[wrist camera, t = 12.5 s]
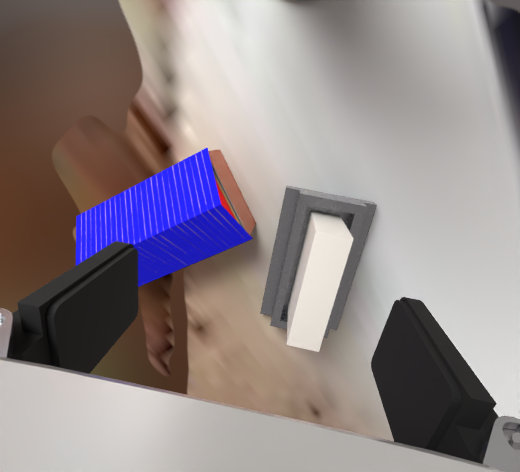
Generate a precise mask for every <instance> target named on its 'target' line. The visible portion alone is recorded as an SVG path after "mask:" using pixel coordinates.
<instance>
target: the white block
mask: <svg viewBox="0 0 520 472" xmlns="http://www.w3.org/2000/svg"><path fill="white" fill-rule="evenodd" d="M352 242H353V237H352V235H351V234H350V232H349V230H348V228H347V227H346V225H345V223H344V222H343V220H342V218H341V217H340V216H335V215H330V214H325V213H320V212H315V211H311V213H310V217H309V221H308V225H307V230H306V234H305V238H304V242H303V246H302V250H301V254H300V258H299V262H298V266H297V270H296V275H295V279H294V283H293V287H292V291H291V295H290V299H289V303H288V321H287V345H290V346H294V347H299V348H303V349H308V350H312V351H317V352H319V350H320V346H321V343H322V340H323V337H324V333H325V330H326V327H327V324H328V320H329V317H330V314H331V311H332V307H333V304H334V301H335V298H336V294H337V291H338V288H339V285H340V281H341V278H342V275H343V272H344V268H345V265H346V262H347V259H348V255H349V252H350V249H351V246H352Z"/></svg>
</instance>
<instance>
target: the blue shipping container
mask: <svg viewBox="0 0 520 472" xmlns="http://www.w3.org/2000/svg"><path fill="white" fill-rule="evenodd" d="M214 176H215V177H214ZM215 178H216V180H217V182H218V183H217V182H216V180H215ZM218 184H219V185H218ZM219 186H220V187H219ZM220 188H221V189H220ZM221 190H222V191H221ZM222 192H223V193H222ZM223 194H224V195H223ZM224 196H225V197H224ZM225 198H226V199H225ZM226 200H227V201H226ZM227 202H228V203H227ZM228 204H229V205H228ZM229 206H230V207H229ZM230 208H231V209H230ZM231 210H232V211H231ZM232 212H233V213H232ZM233 214H234V215H233ZM234 216H235V217H234ZM235 218H236V219H235ZM236 220H237V221H236ZM255 224H256V222H255V220H254V218H253V216H252V214H251V212H250V210H249V208H248V206H247V204H246V202H245V200H244V198H243V196H242V194H241V191H240V189H239V187H238V185H237V183H236V181H235V179H234V177H233V175H232V173H231V171H230V169H229V167H228V165H227V163H226V161H225V159H224V157H223V155H222V153H221V151H220V150H214V151H208V148H206V149H204V150H202V151H200V152H198V153H196V154H194V155H192V156H190V157H188V158H187V159H185V160H183V161H181V162H179V163H177V164H175V165H173V166H171V167H169V168H167V169H166V170H164V171H162V172H160V173H158V174H156V175H154V176H152V177H150V178H148V179H147V180H145V181H143V182H141V183H139V184H137V185H135V186H133V187H131V188H129V189H128V190H126V191H124V192H122V193H120V194H118V195H116V196H114V197H112V198H110V199H109V200H107V201H105V202H103V203H101V204H99V205H97V206H95V207H93V208H91V209H89V210H88V211H86V212H84V213H82V214H80V215H78V216H77V228H76V265H78V264H79V263H81V262H83V261H84V260H86V259H87V258H89V257H90V256H92V255H94V254H95V253H97V252H98V251H100V250H102V249H103V248H105V247H106V246H108V245H110V244H111V243H113V242H115V241H119V242H124V243H129V244H132V245H133V246H134V248H135V249H137V251H138V287H139V286H141V285H144V284H146V283H149V282H151V281H153V280H156V279H158V278H160V277H163V276H165V275H168V274H170V273H172V272H175V271H177V270H179V269H182V268H184V267H187V266H189V265H191V264H194V263H196V262H199V261H201V260H203V259H206V258H208V257H211V256H213V255H215V254H218V253H220V252H222V251H225V250H227V249H230V248H232V247H234V246H237V245H239V244H242V243H244V242H246V241H249V240H251V239H253V238H252V237H251V236H250V235H251V233H252V231H253V228H254V226H255Z"/></svg>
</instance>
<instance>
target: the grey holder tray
mask: <svg viewBox="0 0 520 472" xmlns="http://www.w3.org/2000/svg"><path fill="white" fill-rule="evenodd" d="M375 209H376V204H375V203H373V202H368V201H363V200H358V199H353V198H348V197H342V196H337V195H332V194H327V193H322V192H317V191H312V190H306V189H301V188H296V187H291V186H286V191H285V196H284V200H283V205H282V210H281V215H280V220H279V225H278V230H277V234H276V239H275V244H274V249H273V254H272V259H271V264H270V268H269V273H268V278H267V283H266V288H265V293H264V298H263V302H262V307H261V312H260V313H261V314H266V315H270V316H272V317H271V324H270V326H274V327H279V328H283V329H287V321H288V303H289V299H290V295H291V291H292V287H293V283H294V279H295V275H296V270H297V266H298V262H299V258H300V254H301V250H302V246H303V242H304V238H305V234H306V230H307V225H308V221H309V217H310V213H311V211H315V212H320V213H325V214H330V215H335V216H340V217H341V218H342V220H343V222H344V223H345V225H346V227H347V228H348V230H349V232H350V234H351V235H352V237H353V242H352V246H351V249H350V252H349V255H348V259H347V262H346V265H345V268H344V272H343V275H342V278H341V281H340V285H339V288H338V291H337V294H336V298H335V301H334V304H333V307H332V311H331V314H330V317H329V320H328V324H327V327H326V330H325V333H324V338H327V335H328V332H329V329H335V330H337V327H338V324H339V321H340V318H341V314H342V311H343V308H344V305H345V302H346V299H347V296H348V293H349V290H350V286H351V283H352V280H353V277H354V274H355V271H356V268H357V265H358V262H359V258H360V255H361V252H362V249H363V246H364V243H365V240H366V237H367V234H368V230H369V227H370V224H371V221H372V218H373V215H374V212H375Z"/></svg>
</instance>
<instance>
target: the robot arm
mask: <svg viewBox="0 0 520 472" xmlns="http://www.w3.org/2000/svg"><path fill="white" fill-rule="evenodd" d="M18 308H19V310H17V311H16V312H14V313H11V312H9V311H8V310H6V309H2V308H0V472H520V419H517V418H514V417H509V416H502V417H498V415H497V414H496V413H495V411H494V410H493V408H494V407H495V405H496V402H495V401H494V400H493V398H492V397H491V396H490V394H489V393H488V391H487V390H486V389H485V387H484V386H483V385H482V383H481V382H480V380H479V379H478V378H477V376H476V375H475V374H474V372H473V371H472V369H471V368H470V367H469V365H468V364H467V363H466V361H465V360H464V358H463V357H462V356H461V354H460V353H459V352H458V350H457V349H456V347H455V346H454V345H453V343H452V342H451V341H450V339H449V338H448V336H447V335H446V334H445V332H444V331H443V330H442V328H441V327H440V325H439V324H438V323H437V321H436V320H435V319H434V317H433V316H432V314H431V313H430V312H429V310H428V309H427V308H426V306H425V305H424V303H423V302H422V301H420V300H416V299H410V298H405V297H403V298H401V299H400V301H399V300H396V301H395V302H394V304H393V307H392V309H391V312H390V314H389V317H388V319H387V322H386V324H385V327H384V330H383V332H382V335H381V337H380V340H379V342H378V345H377V347H376V350H375V352H374V355H373V358H372V362H371V368H372V372H373V375H374V378H375V381H376V384H377V388H378V391H379V394H380V397H381V400H382V403H383V407H384V410H385V413H386V416H387V419H388V423H389V426H390V429H391V432H392V435H393V438H394V442H393V441H389V440H385V439H381V438H377V437H372V436H368V435H363V434H359V433H355V432H350V431H346V430H341V429H337V428H333V427H328V426H324V425H320V424H315V423H311V422H306V421H302V420H298V419H293V418H289V417H284V416H280V415H275V414H271V413H266V412H262V411H257V410H253V409H248V408H244V407H239V406H235V405H230V404H226V403H221V402H217V401H212V400H208V399H203V398H199V397H194V396H190V395H185V394H181V393H176V392H171V391H167V390H162V389H157V388H152V387H148V386H143V385H139V384H134V383H130V382H125V381H120V380H115V379H111V378H106V377H102V376H97V375H92V374H89V373H90V372H91V371H92V370H93V369H94V368H95V366H96V365H97V364H98V363H99V362H100V360H101V359H102V358H103V357H104V356H105V354H106V353H107V352H108V351H109V350H110V348H111V347H112V346H113V345H114V344H115V342H116V341H117V340H118V339H119V338H120V336H121V335H122V334H123V333H124V332H125V330H126V329H127V328H128V327H129V326H130V325H131V323H132V322H133V321H134V320H135V318H136V316H137V313H138V251H137V249H135V248H134V246H133V245H132V244H129V243H124V242H119V241H115V242H113V243H111V244H110V245H108V246H106V247H105V248H103V249H102V250H100V251H98V252H97V253H95V254H94V255H92V256H90V257H89V258H87V259H86V260H84V261H83V262H81V263H79V264H78V265H76V266H75V267H73V268H72V269H70V270H68V271H67V272H65V273H63V274H62V275H60V276H59V277H57V278H56V279H54V280H52V281H51V282H49V283H48V284H46V285H44V286H43V287H41V288H40V289H38V290H36V291H35V292H33V293H32V294H30V295H29V296H27V297H25V298H24V299H22V300H21V301H19V302H18Z"/></svg>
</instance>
